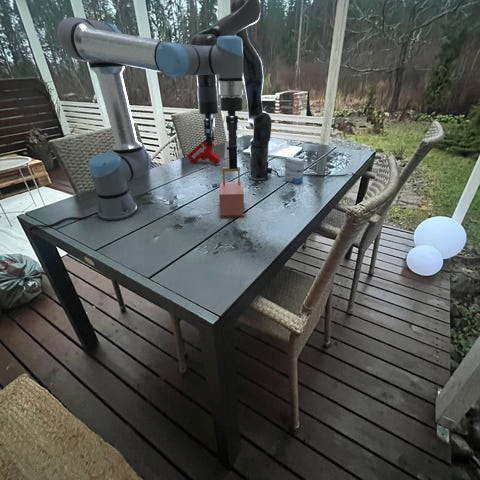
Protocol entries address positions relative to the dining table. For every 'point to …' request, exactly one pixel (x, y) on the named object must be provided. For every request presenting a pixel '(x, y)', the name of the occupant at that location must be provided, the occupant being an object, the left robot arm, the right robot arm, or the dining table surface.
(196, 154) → the toy gun
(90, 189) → the dining table surface
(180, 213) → the dining table surface
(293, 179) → the ink box
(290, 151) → the relief map
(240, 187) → the block with yellow handle
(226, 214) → the chest
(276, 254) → the dining table surface
